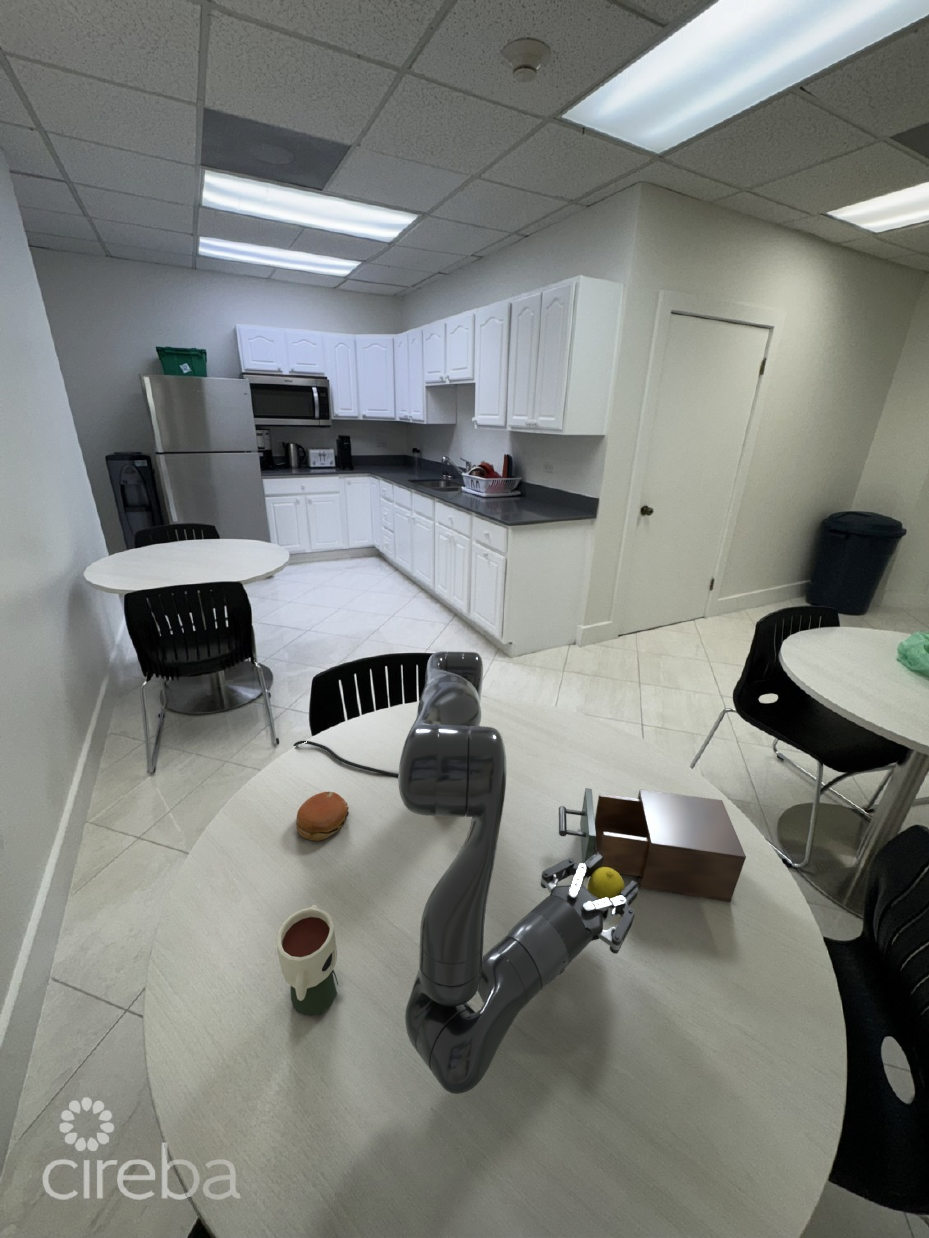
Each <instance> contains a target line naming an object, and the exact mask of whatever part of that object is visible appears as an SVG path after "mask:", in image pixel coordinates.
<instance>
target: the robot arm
mask: <svg viewBox="0 0 929 1238" xmlns="http://www.w3.org/2000/svg"><path fill="white" fill-rule="evenodd" d="M424 675H425V676H424V687H423V690H422V692H421V695H420V698H419V701H418V705H417V712H416V717H415V720H414V722H413V724H412V726H411V727H410V729H409V731H408V733H407V736H406V738H405V741H404V744H403V746H402V750H401V754H400V759H399V765H398V773H397V772H391V771H387V770H382V769H378V768H374V767H371V766H366V765H364V764H363V765H362V764H359V763H355V762H352V761H350V760H348V759H346V758H343V757H341V756H339V755H338V754H336V752H334V751H333V750H332V749H331V748H330V747H328V746H326V745H324V744H321V743H317V742H315V741H310V740H297V741H295V742H294V743H293V744H292V746H293V747H297V746H299V745H303V744H302V743H304V742H306V741H307V743H305V744H304V745H309V746H314V747H317V748H320V749H323V750H324V751H326V752H328V753H329V754H330V755H331V756H332V757H333V758H334V759H336V760H338V761H339V762H340V763H344V764H345V765H348V766H351V767H354V768H357V769H361V770H365V771H368V772H372V773H376V774H380V775H385V776H390V777H394V778H395V777H396V778H397V782H398V783H397V784H398V790H399V795H400V798H401V801H402V803H403V806H404V807H405V808H406V809H407V810H408V811H410V812H411V813H413V814H416V815H420V816H425V817H426V816H427V817H454V818H455V817H456V818H457V817H458V818H461V817H462V818H464V817H466V818H471V821H470V826H469V830H468V832H467V835H466V838H465V840H464V843H463V845H462V847H461V848H460V850H459V852H458V853H457V855H456V857H455V858H454V859H453V860H452V862H451V864H450V865H449V866H448V868H447V869H446V870H445V872H444V873H443V874H442V876H441V877H440V879H439V880H438V882H437V883H436V884H435V886H434V887H433V889H432V891H431V892H430V895H429V896H428V898H427V900H426V902H425V905H424V908H423V910H422V915H421V919H420V920H421V921H420V927H419V962H418V963H419V965H418V966H419V968H418V971H417V974H416V976H415V979H414V981H413V986H412V989H411V992H410V995H409V997H408V1001H407V1003H406V1007H405V1013H404V1021H405V1022H404V1023H405V1029H406V1033H407V1037H408V1039H409V1041H410V1043H411V1045H412V1047H413V1048H414V1050H415V1051H416V1052H417V1053H418V1055H419V1056H420V1058H421V1059H422V1061H423V1062H424V1063H425V1065H426V1066H427V1067H428V1069H429V1070H430V1072H431V1073H432V1074H433V1076H434V1077H435V1079H436V1081H437V1082H438V1083H439V1085H440V1086H441V1087H442V1088H443V1089H444V1090H445V1091H446V1092H448V1093H450V1094H453V1095H459V1094H464V1093H467V1092H470V1091H471V1090H472V1089H474V1088H475V1087H477V1086H478V1084H479V1083H480V1082H481V1081H482V1080H483V1079H484V1077H485V1075H486V1074H487V1072H488V1070H489V1068H490V1066H491V1065H492V1062H493V1060H494V1058H495V1056H496V1054H497V1052H498V1050H499V1048H500V1046H501V1044H502V1043H503V1041H504V1038H505V1037H506V1035H507V1034H508V1032H509V1030H510V1028H511V1026H512V1025H513V1023H514V1021H515V1020H516V1018H517V1017H518V1015H519V1014H520V1012H521V1011H522V1010H524V1008H525V1007H527V1005H528V1004H529V1003H530V1002H531V1001H532V1000H533V999H534V998H535V997H536V996H537V995H538V994H539V993H540V992H541V991H542V990H543V989H544V988H545V987H547V986H548V985H550V984H551V983H552V982H554V980H556V978H558V977H559V976H560V975H562V974H563V973H564V972H565V970H566V968H567V967H568V966H569V965H571V963H572V962H573V961H574V960H575V959H576V958H577V957H578V956H579V955H580V953H581V952H582V951H583V950H584V949H585V948H587V947H588V945H589V944H590V943H591V942H593V941H598V940H601V942H604V943H605V944H607V945H608V946H609V951H610V952H611V953H612V954H614V955H615V954H619V952H620V950H621V948H622V946H623V944H624V942H625V940H626V938H627V936H628V934H629V932H630V930H631V928H632V926H633V923H634V919H635V914H636V911H635V909H634V908H633V907H631V904H633V902H634V901H635V900H636V899H637V896H638V892H639V888H638V885H639V883H638V882H637V881H635V880H631V881H630V882H629V883H628V885H627V886H625V889H624V890H623V891H622V892H621V893H620V895H619V896H617V897H614V898H609V897H606V898H603V899H600V900H599V899H598V898H597V897H596V896H594V895H592V894H590V892H589V891H588V890H587V887H586V886H584V882H585V879H586V878H587V879H590V877H591V875H592V874H593V872H594V871H595V870H597V869H598V868H600V867H601V866H602V864H603V859H604V857H603V856H602V855H601V854H599V855H596V854H593V855H592V856H591V857H590V858H589V859H588V860H586V861H585V862H584V863H582V862H581V863H578V862H576V861H575V859H574V858H572V857H568V858H566V859H564V860H562V861H560V862H558V863H556V864H554V865H552V866H550V867H548V868H546V869H544V870H542V872H541V878H540V887H541V888H543V889H547V891H548V892H549V893H550V894H549V895H548V896H547V897H545V898H544V899H543V900H542V901H541V902H540V903H538V904H537V905H536V906H535V907H534V908H532V909H531V910H530V911H529V912H528V913H527V914H526V915H525V916H524V917H523V918H521V919H520V920H519V921H518V922H517V923H516V924H514V926H513V927H512V928H511V929H510V930H509V931H508V933H507V934H506V935H505V936H504V937H503V938H501V940H500V941H499V942H497V943H496V944H495V945H494V946H492V947H491V948H490V949H489V950H488V951H487V952H485V954H484V942H485V941H484V940H485V939H484V938H485V922H486V921H485V920H486V910H487V903H488V897H489V892H490V887H491V881H492V875H493V871H494V866H495V861H496V855H497V850H498V842H499V837H500V830H501V824H502V818H503V811H504V805H505V799H506V789H507V771H508V770H507V768H508V767H507V754H506V753H507V752H506V746H505V742H504V738H503V736H502V733H501V732H500V731H499V730H498V729H497V728H495V727H492V726H487V725H481V722H482V707H481V700H482V693H483V683H484V663H483V658H482V656H481V654H479V653H478V652H477V651H476V652H475V651H453V650H452V651H449V650H448V651H447V650H446V651H445V650H441V651H436V652H434V653H432V654H431V655H430V657H429V659H428V660H427V664H426V668H425V674H424ZM571 876H573V879H572V882H571V884H570V885H558V883H560V882H562V881H563V880H565V879H568V878H570V877H571ZM618 916H620V917H621V918H620V920H619V922H618V923H617V926H612V927H611V926H610V927H609V929H604V923H607V922H609V921H611V920H612V919H613V918H615V917H618ZM477 993H478V995H479V997H480V999H481V1001H482V1002H483V1005H482V1006H481V1008H480V1009H479V1010H478V1011H475V1010H474V1009H473V1008H472V1006H471V1005H470V1004H469V1003H468V1002H470V1001H471V1000H472V999H473V998H474V997H475V995H476V994H477Z"/></svg>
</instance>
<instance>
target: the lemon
mask: <svg viewBox="0 0 929 1238" xmlns="http://www.w3.org/2000/svg"><path fill="white" fill-rule="evenodd" d="M587 881H588V882H587V885H586V889H587V890H588V891H589V892H590V894H592V895H594V896H596V897H597V898H598V899H599V900H600V899H603V898H606V897H609V898H614V897H617V896H619V895H620V893H621V892H622V891H623V890H624V889H625V888H626V886H625V882H624V879H623V877H622V876H621V875H620V873H618V872H616V871H615V870H613V869H611V868H608V867H601V868H598V869H597V870H595V871H594V872H593V874H592V875H591V876H590V877H589V878H588V880H587Z"/></svg>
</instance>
